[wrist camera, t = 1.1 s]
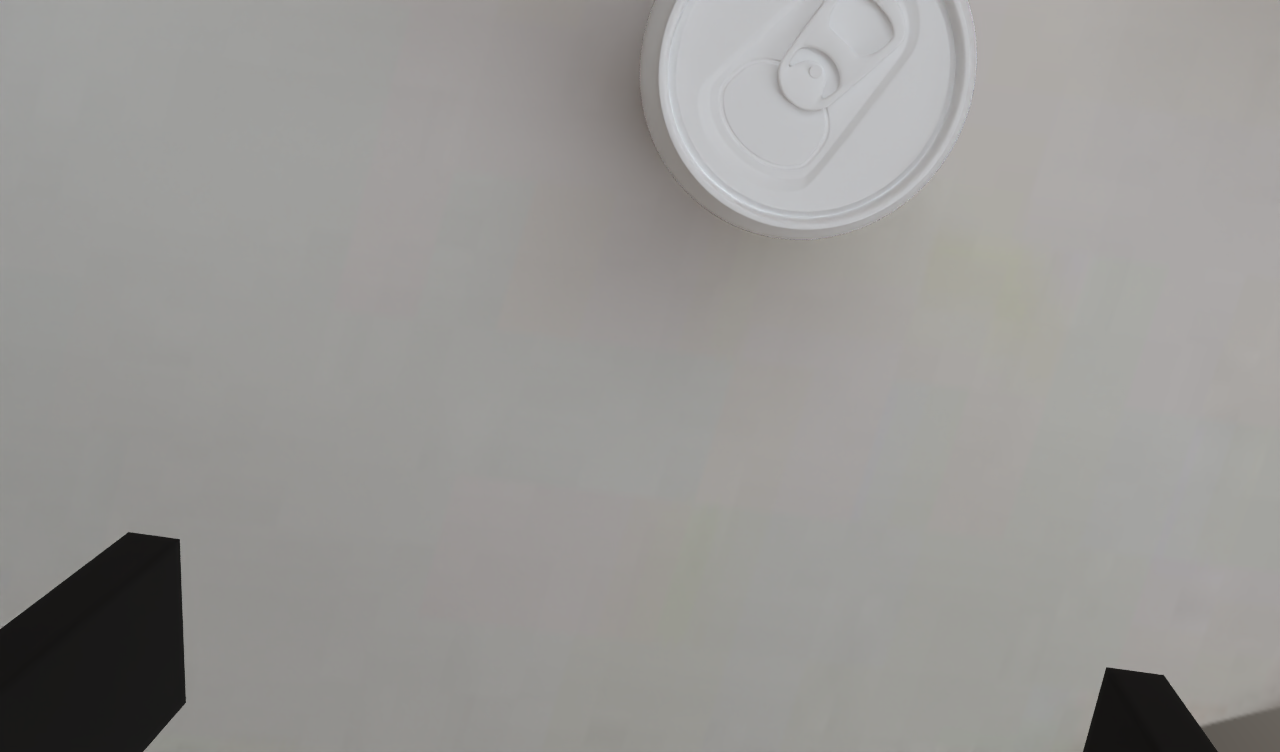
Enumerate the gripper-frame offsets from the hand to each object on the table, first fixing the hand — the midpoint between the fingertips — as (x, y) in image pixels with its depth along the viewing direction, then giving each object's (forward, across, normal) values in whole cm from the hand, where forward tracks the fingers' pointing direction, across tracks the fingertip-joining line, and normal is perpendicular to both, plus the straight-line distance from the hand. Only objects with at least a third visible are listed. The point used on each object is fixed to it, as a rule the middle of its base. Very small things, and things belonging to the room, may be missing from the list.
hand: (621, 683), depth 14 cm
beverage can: (+24, +2, +9) cm, 26 cm away
